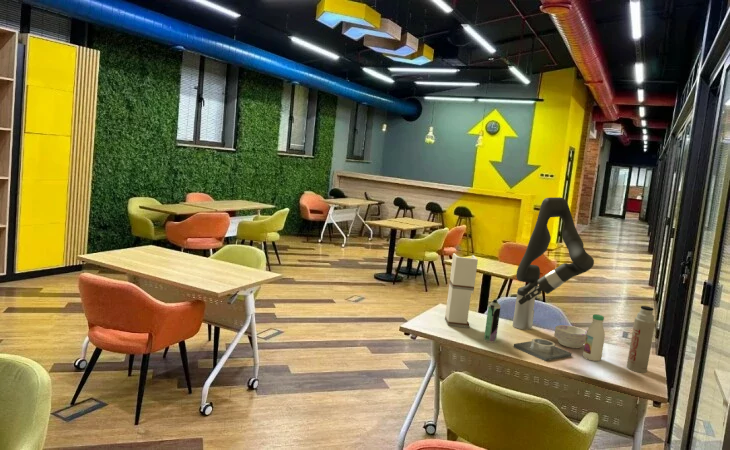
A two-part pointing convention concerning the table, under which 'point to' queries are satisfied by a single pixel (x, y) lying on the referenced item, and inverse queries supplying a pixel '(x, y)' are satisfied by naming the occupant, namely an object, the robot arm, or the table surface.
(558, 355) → the collar plate
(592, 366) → the table surface
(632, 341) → the thermos bottle
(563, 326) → the paper bowls
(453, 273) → the banded white pillar
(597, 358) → the milk bottle
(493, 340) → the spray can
